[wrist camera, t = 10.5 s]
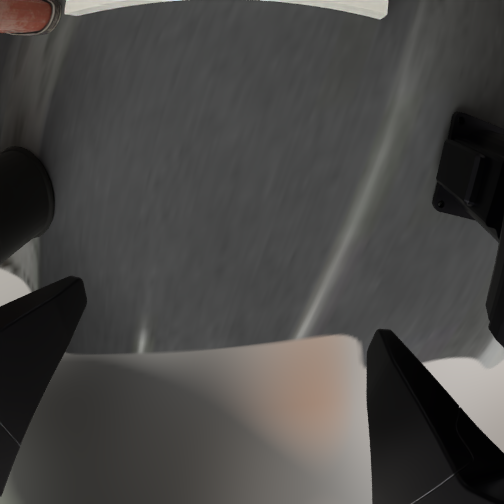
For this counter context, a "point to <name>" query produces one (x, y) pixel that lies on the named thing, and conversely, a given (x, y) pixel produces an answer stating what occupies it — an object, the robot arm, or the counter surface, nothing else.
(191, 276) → the counter surface
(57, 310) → the robot arm
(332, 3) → the bracket board
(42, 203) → the aerosol can
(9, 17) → the lighter
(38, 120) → the counter surface
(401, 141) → the counter surface
